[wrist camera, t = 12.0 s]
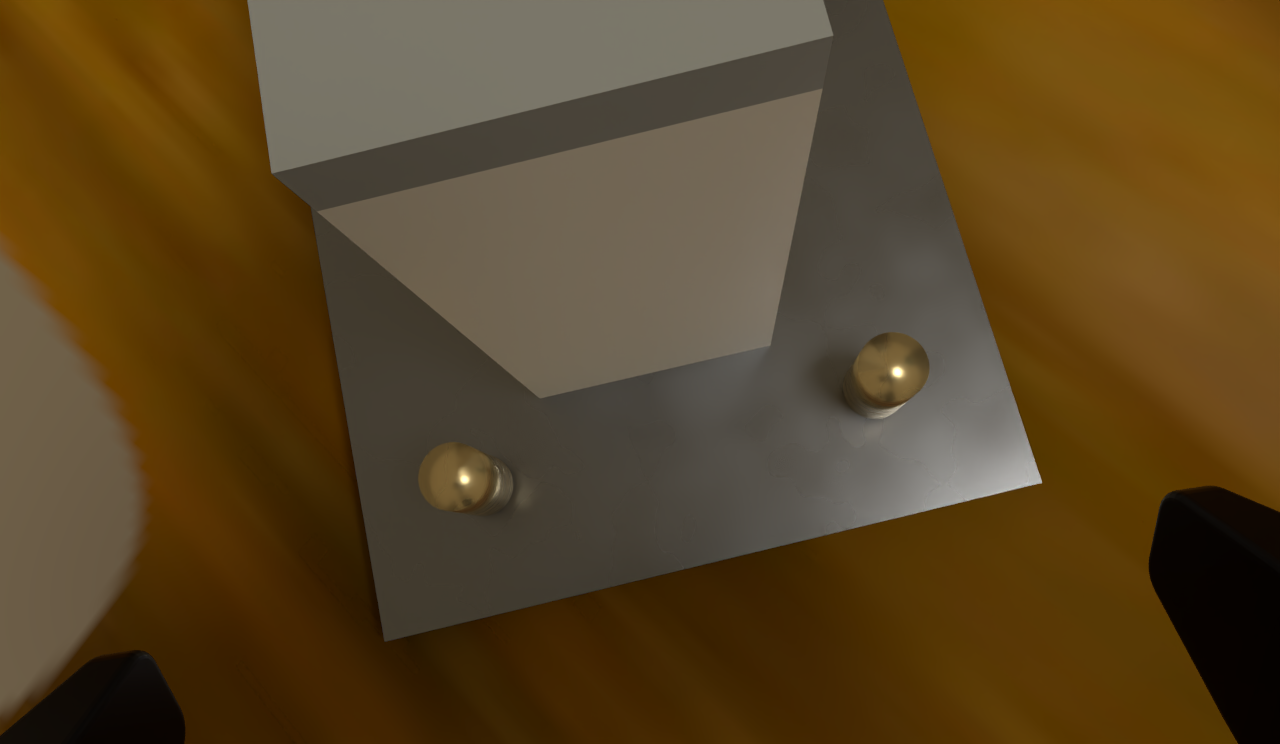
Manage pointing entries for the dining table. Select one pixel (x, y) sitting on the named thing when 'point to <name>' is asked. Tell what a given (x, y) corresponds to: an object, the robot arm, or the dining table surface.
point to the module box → (557, 164)
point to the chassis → (691, 395)
